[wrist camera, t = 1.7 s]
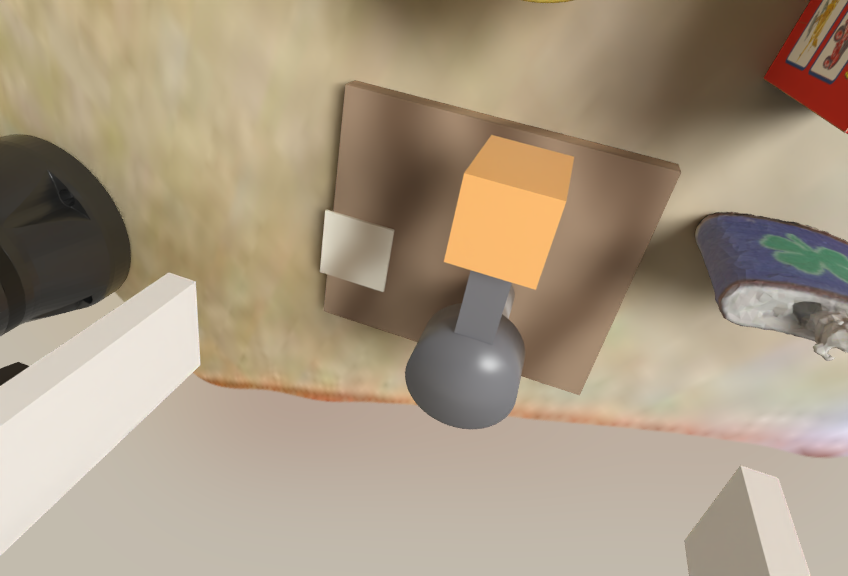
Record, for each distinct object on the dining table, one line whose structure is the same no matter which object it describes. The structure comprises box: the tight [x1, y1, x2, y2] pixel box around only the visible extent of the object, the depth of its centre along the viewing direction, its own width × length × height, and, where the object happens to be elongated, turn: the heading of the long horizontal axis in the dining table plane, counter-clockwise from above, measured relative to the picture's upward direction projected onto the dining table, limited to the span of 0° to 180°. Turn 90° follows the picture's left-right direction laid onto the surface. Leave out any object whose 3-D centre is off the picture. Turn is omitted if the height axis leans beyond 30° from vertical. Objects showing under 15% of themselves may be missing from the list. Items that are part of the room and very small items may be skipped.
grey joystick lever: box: [405, 135, 574, 429], centre depth 27 cm, size 15×6×6 cm, turn 170°
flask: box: [695, 212, 848, 361], centre depth 27 cm, size 9×3×11 cm, turn 79°
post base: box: [320, 81, 681, 395], centre depth 34 cm, size 20×17×8 cm
